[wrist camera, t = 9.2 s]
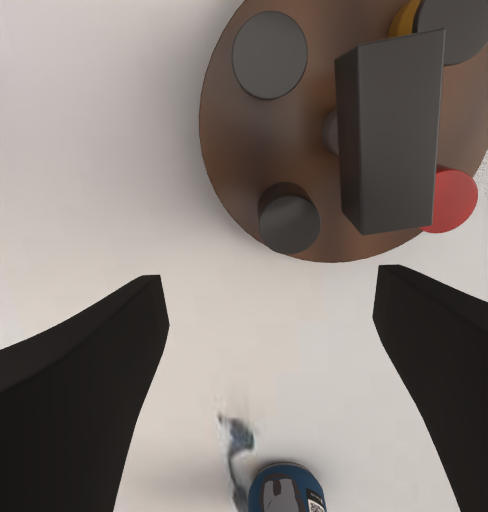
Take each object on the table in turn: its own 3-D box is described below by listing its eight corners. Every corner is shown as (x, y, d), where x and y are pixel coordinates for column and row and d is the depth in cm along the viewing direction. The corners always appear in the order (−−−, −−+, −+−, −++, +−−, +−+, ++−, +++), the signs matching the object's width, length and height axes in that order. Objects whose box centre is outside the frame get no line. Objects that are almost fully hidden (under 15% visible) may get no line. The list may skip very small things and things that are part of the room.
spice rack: (229, 272, 21) (218, 353, 14) (169, -12, 15) (97, -114, 8) (472, 238, 20) (591, 309, 13) (513, -91, 14) (781, -295, 7)
